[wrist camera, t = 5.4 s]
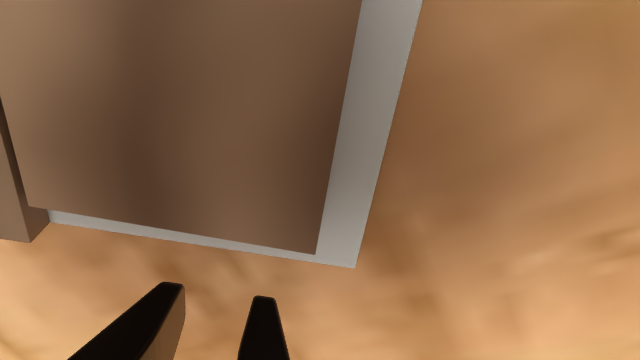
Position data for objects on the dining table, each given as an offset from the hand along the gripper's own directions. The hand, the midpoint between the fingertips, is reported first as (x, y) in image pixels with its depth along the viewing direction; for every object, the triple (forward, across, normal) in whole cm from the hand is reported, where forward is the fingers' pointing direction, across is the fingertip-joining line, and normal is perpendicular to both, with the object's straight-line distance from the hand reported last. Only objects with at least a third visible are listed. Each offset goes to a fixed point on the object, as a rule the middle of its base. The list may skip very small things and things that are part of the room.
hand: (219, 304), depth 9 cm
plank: (+7, +3, -2) cm, 8 cm away
